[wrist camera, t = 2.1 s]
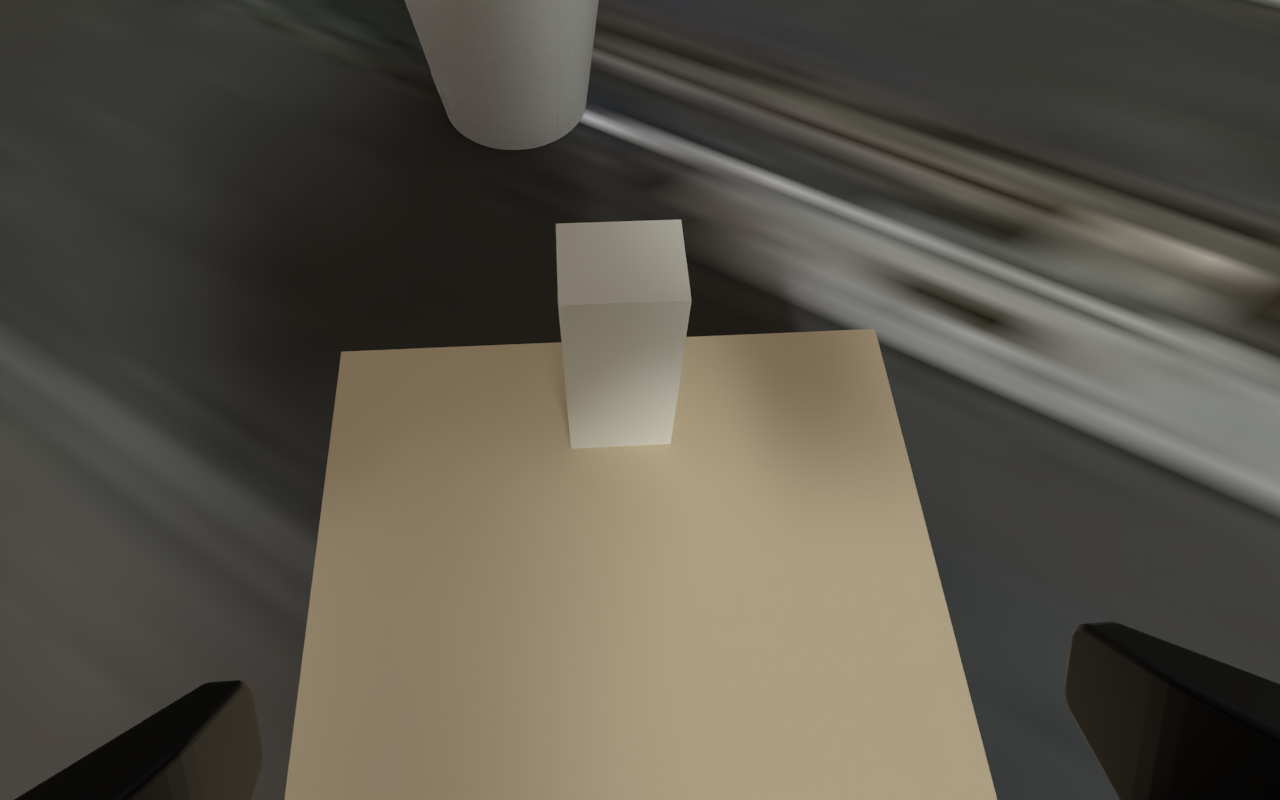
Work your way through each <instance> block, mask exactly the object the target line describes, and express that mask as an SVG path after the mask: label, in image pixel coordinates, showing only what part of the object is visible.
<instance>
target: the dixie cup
mask: <svg viewBox="0 0 1280 800" xmlns="http://www.w3.org/2000/svg"><path fill="white" fill-rule="evenodd" d="M405 3H406V5H407V8H408V11H409V13H410V16H411V19H412V22H413V24H414V27H415V30H416V32H417V35H418V38H419V40H420V43H421V46H422V48H423V51H424V54H425V56H426V59H427V62H428V65H429V67H430V70H431V75H432V77H433V80H434V83H435V85H436V88H437V91H438V93H439V95H440V97H441V99H442V102H443V105H444V108H445V110H446V113H447V116H448V118H449V120H450V122H451V123H452V125H453V126H454V127H455V128H456V129H457V130H458V131H459V132H460V133H461V134H462V135H464V136H465V137H466V138H468V139H470V140H472V141H474V142H476V143H478V144H481V145H484V146H487V147H491V148H495V149H502V150H525V149H532V148H536V147H540V146H544V145H547V144H549V143H552V142H554V141H556V140H558V139H560V138H562V137H563V136H565V135H566V134H567V133H569V132H570V131H571V130H572V129H573V128H574V127H575V126H576V125H577V124H578V123H579V121H580V120H581V118H582V116H583V114H584V111H585V108H586V101H587V92H588V84H589V75H590V67H591V59H592V50H593V42H594V34H595V25H596V17H597V9H598V0H405Z"/></svg>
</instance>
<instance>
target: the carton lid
mask: <svg viewBox="0 0 1280 800" xmlns="http://www.w3.org/2000/svg"><path fill="white" fill-rule="evenodd" d="M556 250H557V283H558V309H559V320H560V332H561V342H558V343H534V344H511V345H487V346H464V347H440V348H416V349H393V350H369V351H346V352H341V359H340V366H339V374H338V382H337V390H336V398H335V406H334V414H333V422H332V429H331V437H330V445H329V453H328V461H327V469H326V477H325V484H324V492H323V500H322V508H321V516H320V524H319V532H318V540H317V547H316V555H315V563H314V571H313V579H312V587H311V595H310V603H309V610H308V618H307V626H306V634H305V642H304V650H303V658H302V666H301V673H300V681H299V689H298V697H297V705H296V713H295V721H294V728H293V736H292V744H291V752H290V760H289V768H288V776H287V784H286V791H285V799H284V800H997V797H996V793H995V789H994V786H993V782H992V778H991V774H990V770H989V766H988V762H987V759H986V755H985V751H984V747H983V743H982V739H981V736H980V732H979V728H978V724H977V720H976V716H975V712H974V709H973V705H972V701H971V697H970V693H969V689H968V686H967V682H966V678H965V674H964V670H963V666H962V663H961V659H960V655H959V651H958V647H957V643H956V639H955V636H954V632H953V628H952V624H951V620H950V616H949V613H948V609H947V605H946V601H945V597H944V593H943V589H942V586H941V582H940V578H939V574H938V570H937V566H936V563H935V559H934V555H933V551H932V547H931V543H930V540H929V536H928V532H927V528H926V524H925V520H924V516H923V513H922V509H921V505H920V501H919V497H918V493H917V490H916V486H915V482H914V478H913V474H912V470H911V466H910V463H909V459H908V455H907V451H906V447H905V443H904V440H903V436H902V432H901V428H900V424H899V420H898V417H897V413H896V409H895V405H894V401H893V397H892V393H891V390H890V386H889V382H888V378H887V374H886V370H885V367H884V363H883V359H882V355H881V351H880V347H879V343H878V340H877V336H876V332H875V329H864V330H840V331H816V332H793V333H769V334H746V335H722V336H699V337H686V335H687V328H688V321H689V315H690V308H691V301H692V299H691V292H690V284H689V276H688V269H687V261H686V253H685V245H684V238H683V230H682V222H681V220H651V221H621V222H590V223H560V224H556Z"/></svg>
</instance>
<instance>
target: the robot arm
mask: <svg viewBox="0 0 1280 800" xmlns="http://www.w3.org/2000/svg"><path fill="white" fill-rule="evenodd" d="M1065 697H1066V702H1067V705H1068V708H1069V710H1070V712H1071V714H1072V716H1073V718H1074V720H1075V721H1076V723H1077V725H1078V727H1079V728H1080V730H1081V732H1082V734H1083V736H1084V737H1085V739H1086V741H1087V743H1088V745H1089V746H1090V748H1091V750H1092V752H1093V753H1094V755H1095V757H1096V759H1097V761H1098V762H1099V764H1100V766H1101V768H1102V770H1103V771H1104V773H1105V775H1106V777H1107V778H1108V780H1109V782H1110V784H1111V786H1112V787H1113V789H1114V791H1115V793H1116V794H1117V796H1118V798H1119V800H1280V684H1278V683H1275V682H1273V681H1270V680H1267V679H1265V678H1262V677H1259V676H1257V675H1254V674H1251V673H1249V672H1246V671H1244V670H1241V669H1238V668H1236V667H1233V666H1230V665H1228V664H1225V663H1222V662H1220V661H1217V660H1214V659H1212V658H1209V657H1207V656H1204V655H1201V654H1199V653H1196V652H1193V651H1191V650H1188V649H1185V648H1183V647H1180V646H1178V645H1175V644H1172V643H1170V642H1167V641H1164V640H1162V639H1159V638H1156V637H1154V636H1151V635H1148V634H1146V633H1143V632H1141V631H1138V630H1135V629H1133V628H1130V627H1127V626H1125V625H1122V624H1119V623H1115V622H1102V623H1088V624H1081V625H1079V626H1078V627H1077V628H1076V629H1075V630H1074V632H1073V634H1072V638H1071V645H1070V652H1069V659H1068V666H1067V673H1066V680H1065ZM262 762H263V745H262V739H261V733H260V728H259V723H258V717H257V712H256V707H255V701H254V696H253V692H252V689H251V687H250V685H249V684H248V683H246V682H245V681H242V680H237V681H222V682H209V683H205V684H203V685H201V686H200V687H198V688H196V689H195V690H193V691H191V692H190V693H188V694H186V695H185V696H183V697H182V698H180V699H178V700H177V701H175V702H173V703H172V704H170V705H168V706H167V707H165V708H164V709H162V710H160V711H159V712H157V713H155V714H154V715H152V716H150V717H149V718H147V719H146V720H144V721H142V722H141V723H139V724H137V725H136V726H134V727H132V728H131V729H129V730H128V731H126V732H124V733H123V734H121V735H119V736H118V737H116V738H114V739H113V740H111V741H110V742H108V743H106V744H105V745H103V746H101V747H100V748H98V749H96V750H95V751H93V752H92V753H90V754H88V755H87V756H85V757H83V758H82V759H80V760H78V761H77V762H75V763H74V764H72V765H70V766H69V767H67V768H65V769H64V770H62V771H60V772H59V773H57V774H56V775H54V776H52V777H51V778H49V779H47V780H46V781H44V782H42V783H41V784H39V785H38V786H36V787H34V788H33V789H31V790H29V791H28V792H26V793H24V794H23V795H21V796H20V797H18V798H16V799H15V800H252V798H253V795H254V791H255V788H256V785H257V782H258V778H259V775H260V772H261V767H262Z"/></svg>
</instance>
